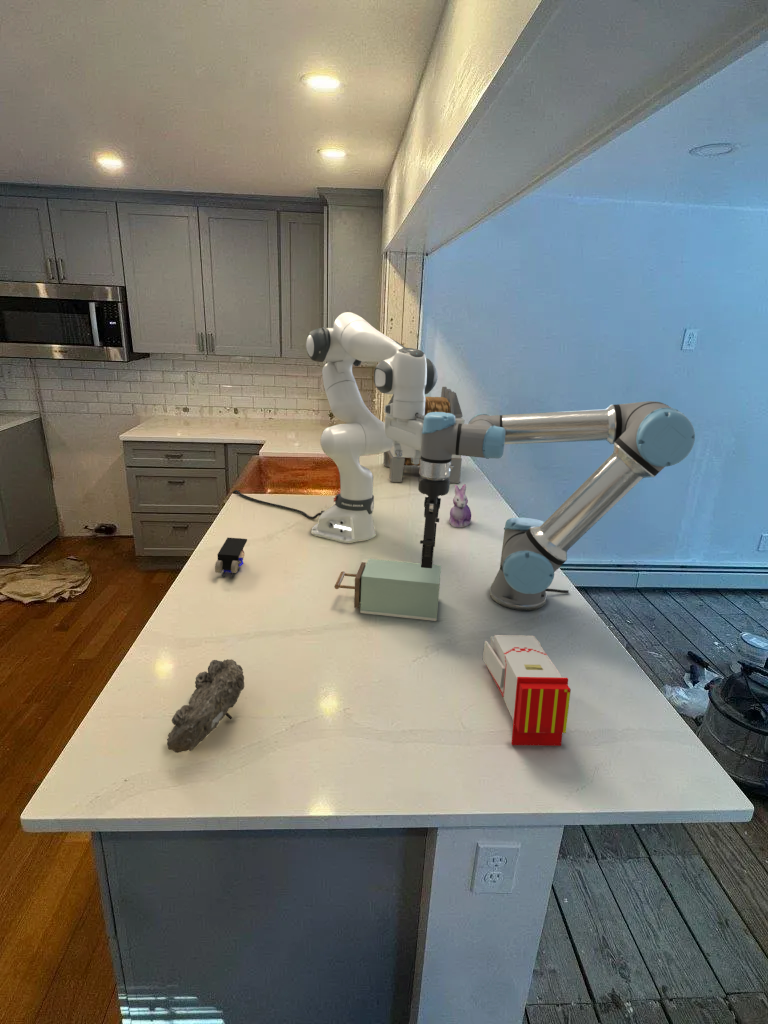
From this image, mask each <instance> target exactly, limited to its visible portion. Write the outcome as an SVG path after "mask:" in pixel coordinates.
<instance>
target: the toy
mask: <svg viewBox="0 0 768 1024" xmlns="http://www.w3.org/2000/svg"><path fill="white" fill-rule="evenodd" d="M482 660H483V663H485V666H486V668H487V669H488V672H489V673H490V675H491V677H492V679H493V681H494V683H495V685H496V687H497V689H498V692H499V693H500V694H501V697H502V698H503V702H504V703H505V706H506V708H507V710H508V712H509V715H510V717H511V720H512V721H513V722H512V731H511V732H512V733H511V746H534V747H535V746H536V747H537V746H542V747H545V746H546V747H548V746H549V747H550V746H551V747H562V743H563V734H567V727H568V717H569V709H570V698H571V690H572V689H571V688H570V686H569V678H568V677H563V676H562V675H561V673H560V672H559V670H558V669H557V667H556V666H555V664H554V663H553V662H552V660H551V658H550V657H549V655H548V654H547V653H546V651H545V650H544V648H543V647H542V644H541V642H540V640H538V639H537V637H536V636H535V635H521V634H520V635H517V634H494V636H490V642H488V640H485V641H484V645H483V653H482Z"/></svg>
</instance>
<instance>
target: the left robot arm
mask: <svg viewBox="0 0 768 1024" xmlns="http://www.w3.org/2000/svg"><path fill="white" fill-rule="evenodd" d="M332 326H333V327H325V326H322V327H319V328H315V329H312V330H311V331H309V333H308V334H307V336H306V339H305V347H306V349H305V350H306V353H307V356H308V357H309V359H311V361H313V362H317V363H324V362H325V364H324V365H323V367H322V369H321V376H322V383H323V388H324V392H325V396H326V398H327V402H328V405H329V409H330V411H331V413H332V415H333V416H334V418H336V419H337V420H339V421H341V422H344V423H337V424H334V425H331V426H327V427H325V428H324V430H323V431H322V433H321V435H320V439H319V440H320V447H321V450H322V452H323V453H324V454H325V455H326V456H327V457H328V458H330V459H331V460H332V461H333V462H334V464H335V465H336V467H337V470H338V473H339V482H340V484H339V485H340V488H339V489H340V490H339V491H338V492H337V494H336V495H335V496H334V497H333V502H334V504H333V505H331V506H329V507H328V508H326V509H325V510H321V511H320V512H318V513H316V514H314V515H313V516H310V515H309V514H307V513H306V512H305V511H303V510H300V509H297V508H294V507H289V506H285V505H281V504H277V503H273V502H269V501H264V500H260V499H257V498H254V497H251V496H248V495H246V494H244V493H242V492H240V491H239V490H238V489H235V490H233V492H232V494H236V493H237V494H238V496H240V497H242V498H245V499H247V500H250V501H252V502H256V503H259V504H263V505H268V506H271V507H276V508H278V509H279V508H280V509H284V510H288V511H292V512H296V513H299V514H301V515H303V516H304V517H305V518H306V519H308V520H315V519H317V518H318V521H317V523H315V524H314V525H313V526H312V528H311V530H310V533H311V536H315V537H319V538H323V539H326V540H330V541H336V542H339V543H343V544H352V543H357V542H365V541H368V540H372V539H373V538H375V537H376V535H377V532H376V528H375V523H374V513H373V512H374V509H375V496H374V474H373V472H372V471H371V469H369V468H367V467H366V466H364V465H362V464H361V463H360V457H366V456H367V457H368V456H377V455H380V454H384V452H386V451H389V450H390V449H391V448H392V446H394V450H395V456H397V457H401V456H402V450H401V445H400V444H401V443H402V444H404V445H406V446H409V447H411V448H414V449H413V452H414V456H413V457H411V460H412V461H411V463H412V464H415V465H416V464H419V461H420V457H421V443H422V431H423V422H424V417H425V402H426V398H425V397H426V395H428V394H429V393H430V392H432V390H433V389H434V388H435V386H436V384H437V383H438V379H439V378H438V370H437V367H436V366H435V364H434V363H433V362H432V361H431V360H430V358H427V357H426V354H425V352H424V351H422V350H421V349H417V348H412V347H406V346H404V345H403V344H401V343H400V342H398V341H397V340H395V339H394V338H391V337H389V336H387V335H386V334H384V333H383V332H381V331H379V330H378V329H376V328H375V327H374V326H372V325H371V324H370V322H368V321H367V320H365V318H364V317H361V316H360V315H358V314H356V313H354V312H350V311H346V312H345V311H344V312H342V313H340V314H339V315H338V316H337V317H336V318H335V320H334V322H333V325H332ZM362 362H365V363H369V362H370V363H377V365H376V366H375V368H374V370H373V383H374V386H375V388H376V389H377V390H378V391H379V392H381V394H384V395H393V394H394V397H393V403H391V404H385V405H384V407H383V409H384V411H383V412H384V413H385V416H384V421H382V420H381V419H380V418H378V417H377V416H376V415H375V414H374V413H372V412H371V411H370V410H369V408H368V407H367V405H366V403H365V402H364V399H363V397H362V395H361V392H360V390H359V387H358V384H357V381H356V378H355V376H354V373H353V366H355V367H359V366H361V363H362ZM386 413H387V414H386Z"/></svg>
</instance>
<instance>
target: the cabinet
mask: <svg viewBox="0 0 768 1024" xmlns="http://www.w3.org/2000/svg"><path fill="white" fill-rule="evenodd" d="M441 573H442V565H441V564H433V563H432V568H422V567H421V562H411V561H402V560H401V561H400V560H390V559H389V560H388V559H380V558H379V559H378V558H368V559H367V561H366V566H365V569H364V572H363V574H362V580H361V603H360V614H366V615H375V616H376V615H377V616H386V617H395V618H403V619H404V618H406V619H414V620H421V621H422V620H424V621H433V622H437V620H438V611H439V601H440V599H439V598H440V588H441V587H440V586H441Z"/></svg>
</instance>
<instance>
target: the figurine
mask: <svg viewBox="0 0 768 1024" xmlns="http://www.w3.org/2000/svg"><path fill="white" fill-rule="evenodd" d="M453 488H454V496H453V498H452V503H453V506H452V507H451V508H450V511H449V518H448V519H449V520H448V523H449V524H450V525H451V527H454V528H464V527H468V526H469V525H470V524H471V520H472V511H471V508H470V506H469V505H468V503H469V499H468V497H467V495H466V490H467V484H465V483H464V484H463V485H462V486H461V488H459V486H458V485H457V484H454V487H453Z"/></svg>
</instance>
